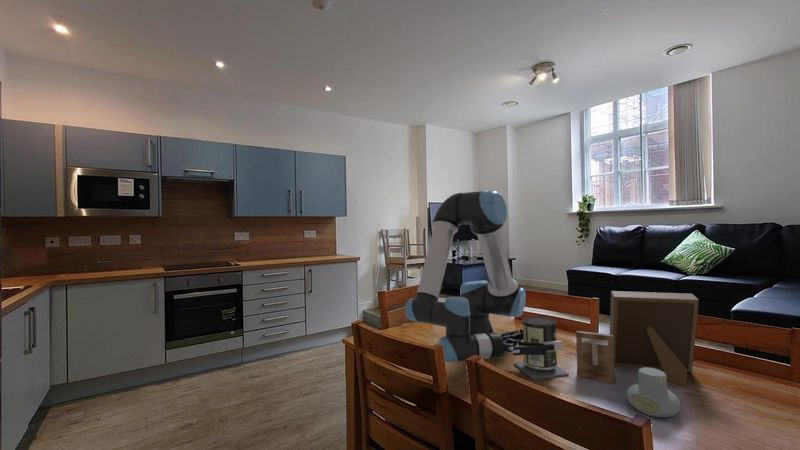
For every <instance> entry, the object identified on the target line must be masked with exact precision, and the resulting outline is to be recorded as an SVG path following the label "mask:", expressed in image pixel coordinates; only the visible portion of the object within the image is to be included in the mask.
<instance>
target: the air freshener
mask: <svg viewBox="0 0 800 450" xmlns="http://www.w3.org/2000/svg"><path fill="white" fill-rule="evenodd" d="M637 378H638V379H637V381H638V382H637V383H635V384H632V385H631V386H630V387H629V388H627V391H626V396H627V400H628V401H629V403H630V404H631V406H633V407H634V408H635V409H637V410H638V411H640V412H641V413H642V414H645V415H647V416H650V417H655V418H668V417H672V416H675V415H676V414H678V412H679V411H680V410H681V403H680V402H681V401H680V400H679V398H678V397H677V396H676V394H675V393H673V392H672V391H671V390H670V389H668V380H667V375H666V374H665V373H664V371H662V370H658V369H654V368H648V367H644V368H638V370H637Z"/></svg>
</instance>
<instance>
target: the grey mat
mask: <svg viewBox="0 0 800 450" xmlns="http://www.w3.org/2000/svg"><path fill="white" fill-rule="evenodd" d="M513 365H514V366H515V367H517V368H518V369H520V370H521V371H522V372H523V373H524V374H526V375H527V376H528V377H529V378H531V379H532V380H542V379H552V378H558V377H565V376H567V377H568V376H570V373H569V372H567V371H565V370H564V369H562V368H560V366H558V365H557V367H556V368H555V369H551V370H539V369H534V368H530V367H528V366H526V365H525V364H524V361H517V362H516V361H515V362H513Z"/></svg>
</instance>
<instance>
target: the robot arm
mask: <svg viewBox="0 0 800 450" xmlns="http://www.w3.org/2000/svg"><path fill="white" fill-rule="evenodd" d="M507 209H508V207H507V204H506V201H505V198H504V196H503V195H502V194H501V193H500V192H498V191H496V190H481V191H471V192H458V193H456V192H455V193H454V194H452V195H450V196H449V197H447V198H446V199H445V200H444V201H443V202H442V203H441V205H440V206H439V207H438V209H437V211H436V213H435V215H434V217H433V220H432V223H431V227H432V228H433V231H432V234H431V239H430V242H429V245H428V246H429V247H428V250H427V253H426V258H425V260H424V264H423V268H422V271H421V274H420V279H419V283H418V287H417V291H416V294H415V297H413V298H409V299H408V300H407V302H406V303H405V306H404V314H405V316H406V318H407V320H409V321H413V322H417V323H418V324H419V323H421V324H427V325H434V326H438V327H444V328H445V335H444V336H442V337H440V338H439V340H438V345H442V347H443V353H444V361H445V362H444V361H443V362H444V363H459V362H465V361H466V359H467V358H469V357H471V356H473V355H478V356H481V357H482V358H483V359H482V360H486V359H496V358H502V357H503V356H504V353H505V352H507V353H512V355H513V356H522V355H523V356H524V355H546V351H563V349H564V348H563V347H564V346H563V340H556V341H549V342H542V344H541V343H529V342H523V328H522V329H519V330H518V329H516V330H512V331H507V332H500V333H498V332H496V331H495V332H494V328H493V325H492V323H491V320H490V315H495V316H502V317H508V318H519V317H521V316H522V315H523V313H524V310H525V305H526V299H527V298H526V297H527V296H526V295H527V292H526V289H525V288H523V287H522V286H521V287H519V284H518V281H517V280H515V278H513V277H512V271H511V267H510V263H509V259H508V255H507V250H506V246H505V243H504V238H503V235H502V230H501V229H502V228H503V226H504V224H505V222H506V220H507V216H508V212H507ZM461 225H462V226H463V225H464V226H465V225H467V226H468V225H469V227H470V230H471V232H472V233H473V234H474V235H476V237H477V240H478V244H479V247H480V251H481V255H482V258H483V261H484V266H485V269H486V273H487V277H488V280H485V279H484V280H483V279H482V280H472V281H467V282H464V283H462V284H461V285H460V292H459V295H460V296H448V297H446V298H445V299H444V301H439V297H440V293H441V288H442V286H443V281H444V276H445V272H446V269H447V263H448V260H449V256H450V251H451V247H452V244H453V239H454V235H455V234H456V233H458V231H459V227H460V226H461Z"/></svg>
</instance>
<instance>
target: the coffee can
mask: <svg viewBox="0 0 800 450" xmlns="http://www.w3.org/2000/svg"><path fill="white" fill-rule="evenodd" d="M521 320H522V330H523V340H522V342H529V343H541V344H542V342H549V341H557V321H556V320H554V319H553V318H550V317H544V316H527V317H524V318H522V319H521ZM557 351H558V350H556V351H546V355H523V362H524V364H525V365H526V366H528V367H530V368H534V369H539V370H551V369H555V368H556V367H557V366H558V361H557V358H558V357H557V353H558V352H557Z"/></svg>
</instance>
